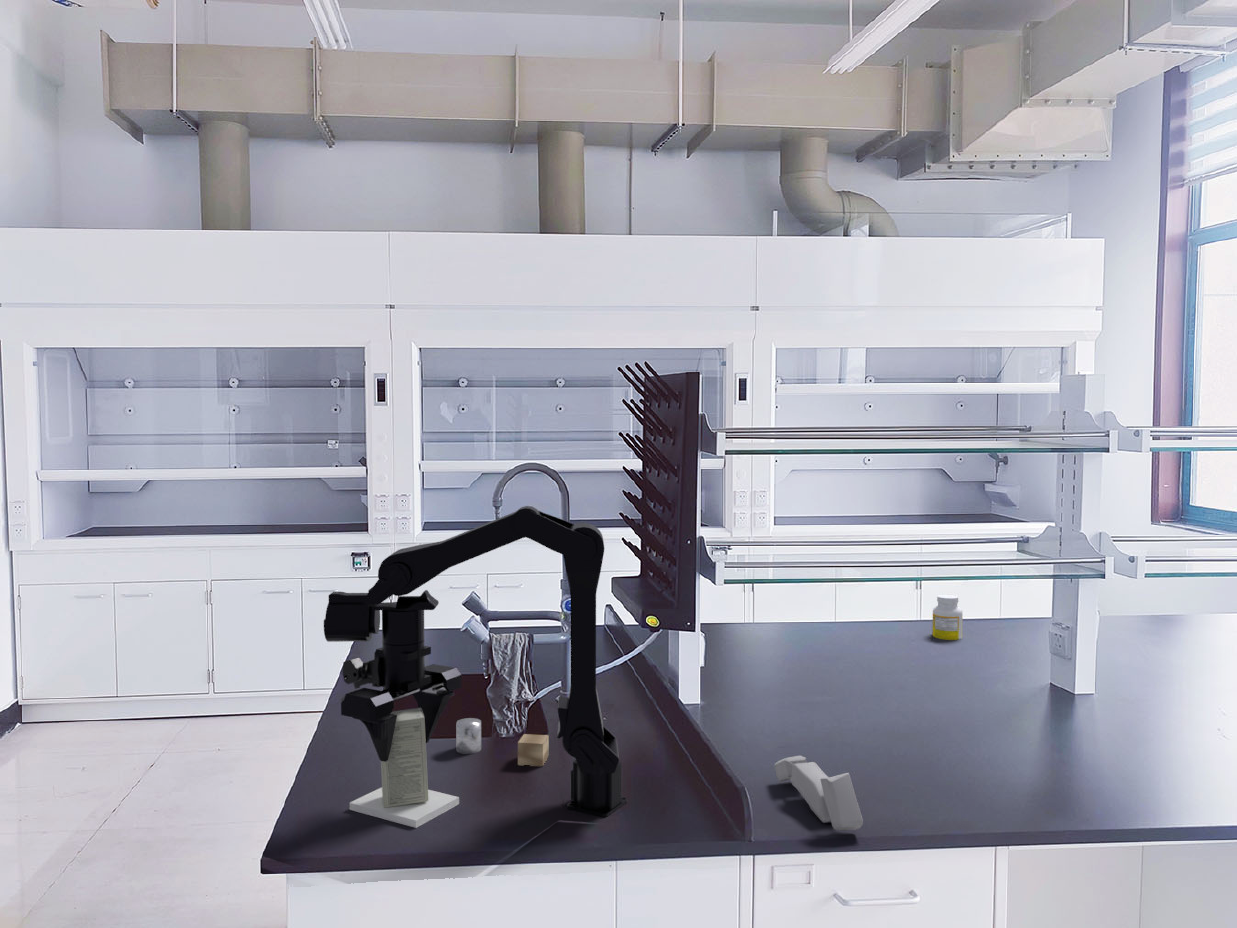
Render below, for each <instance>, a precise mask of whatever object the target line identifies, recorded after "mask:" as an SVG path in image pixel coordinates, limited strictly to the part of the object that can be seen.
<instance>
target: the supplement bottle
mask: <svg viewBox="0 0 1237 928" xmlns="http://www.w3.org/2000/svg"><path fill="white" fill-rule="evenodd" d="M936 601H937V605H936V606H935V607H933V608H932V629H931V630H932V636H933V637H934V638H936V639H939V640H946V641H947V640H948V641H954V640H955V641H957V640H961V639H963V617H964V616H963V610H962V609H961V607H959V606H958V604H959V603H958V602H959V596H957V595H953V594H951V595H950V594H937V596H936Z"/></svg>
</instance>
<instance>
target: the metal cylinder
mask: <svg viewBox="0 0 1237 928" xmlns="http://www.w3.org/2000/svg"><path fill="white" fill-rule="evenodd" d="M455 726H456V727H455V729H456V734H455V735H456V738H455V739H456V740H455V741H456V742H455V744H456V745H455V746H456V749H455V750H456V752H457V753H459V754H463V755H470V754H472V755H473V754H476V753H479V752H480V751H481V750H482V720H481V719H479V718H475V717H468V718H467V717H466V718H461V719H458V720H457V721H456V725H455Z"/></svg>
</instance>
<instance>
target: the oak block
mask: <svg viewBox="0 0 1237 928" xmlns="http://www.w3.org/2000/svg"><path fill="white" fill-rule="evenodd" d="M549 736H550V735H547V734H533V733H532V734H531V733H530V734H529V733H523V735H522V736H521V737H520V739H519V740H518V741H517V765H518V766H524V765H530V766H529V767H541V766H543V765H545V764H546V762H547V760H548V759H549V757H548V756H549V751H550V750H549V738H550V737H549ZM547 758H548V759H547ZM545 761H546V762H545ZM544 763H545V764H544ZM543 767H544V766H543Z"/></svg>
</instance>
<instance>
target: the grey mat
mask: <svg viewBox="0 0 1237 928" xmlns="http://www.w3.org/2000/svg"><path fill="white" fill-rule="evenodd" d="M459 805H460V797H459V796H455V795H453V794H448V793H443V792H440V791H435V790H432V789H428V801H424V802H419V803H413V804H405V805H399V806H392V807H384V804H383V795H382V786H381V787H379V788H377V789H376V790H373V791H371V792H369V793H367V794H365V795H362V796H360V797H358V798H357V799H355V800H352V801H350V802H349V811H353V812H357V813H360V814H363V815H367V816H372V817H375V818H379V819H382V820H386V821H389V822H392V823H397V824H400V825H404V826H407V827H412V828H415V829H417V828H418V827H420V826H422V825H424V824H426V823H428V822H431V820H433V819H435V818H436V817H439V816H441V815H442V814H444V813H446V812H448V811H450V810H451V809H453V808H455V807H456V806H459Z"/></svg>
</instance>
